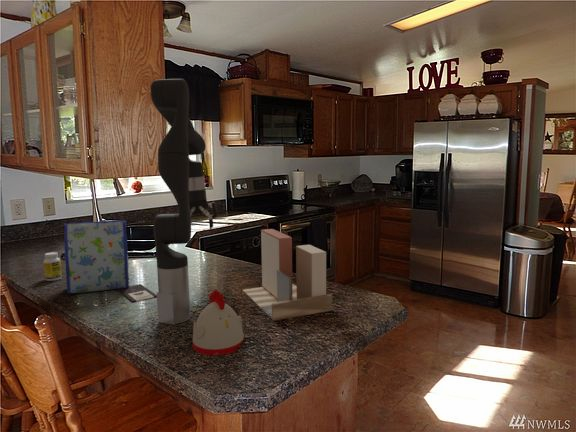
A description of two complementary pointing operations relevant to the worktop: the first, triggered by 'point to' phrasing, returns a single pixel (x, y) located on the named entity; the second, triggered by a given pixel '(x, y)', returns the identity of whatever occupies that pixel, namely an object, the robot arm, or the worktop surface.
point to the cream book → (310, 271)
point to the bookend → (280, 291)
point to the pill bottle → (52, 267)
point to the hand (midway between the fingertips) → (199, 229)
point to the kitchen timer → (217, 328)
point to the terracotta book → (275, 258)
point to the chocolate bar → (137, 293)
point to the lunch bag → (96, 256)
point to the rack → (290, 303)
